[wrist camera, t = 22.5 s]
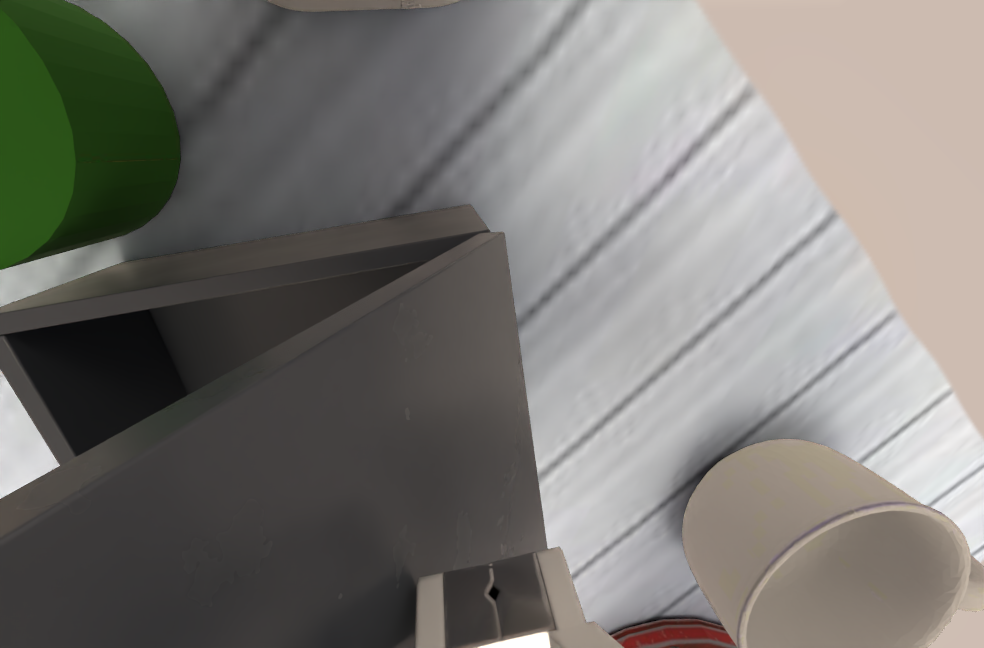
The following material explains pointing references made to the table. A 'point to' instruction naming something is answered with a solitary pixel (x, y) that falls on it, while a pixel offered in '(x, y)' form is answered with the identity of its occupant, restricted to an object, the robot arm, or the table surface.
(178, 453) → the chest lid
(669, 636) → the hourglass
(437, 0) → the cable organizer
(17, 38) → the candle
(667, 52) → the table surface
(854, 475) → the teacup
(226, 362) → the chest
